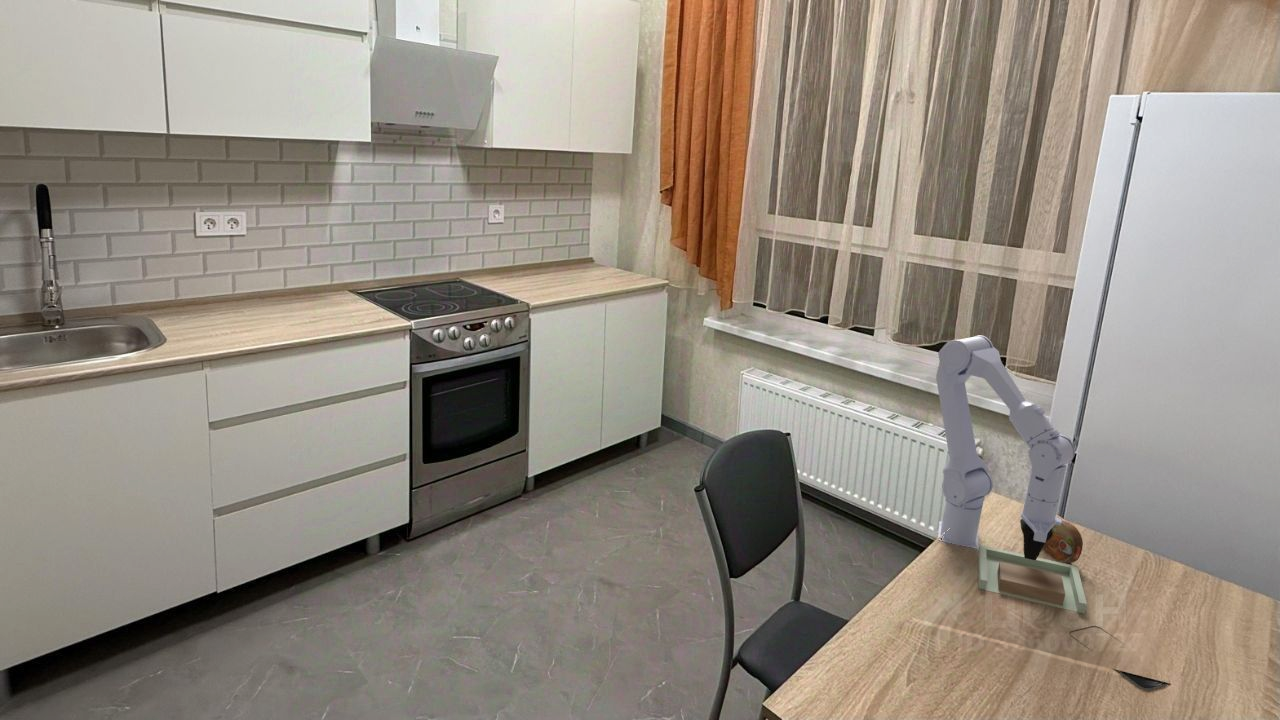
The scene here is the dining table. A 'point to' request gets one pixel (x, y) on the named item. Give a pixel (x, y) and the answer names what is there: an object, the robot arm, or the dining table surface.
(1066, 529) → the tin
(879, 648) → the dining table surface
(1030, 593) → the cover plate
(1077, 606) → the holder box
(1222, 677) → the dining table surface
